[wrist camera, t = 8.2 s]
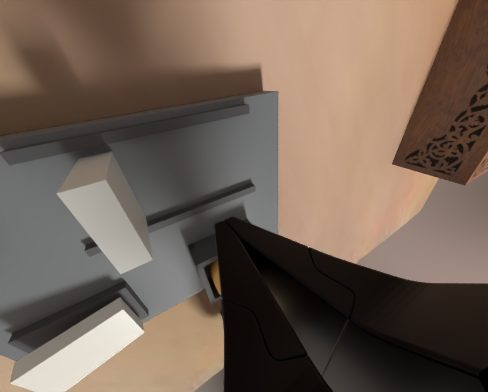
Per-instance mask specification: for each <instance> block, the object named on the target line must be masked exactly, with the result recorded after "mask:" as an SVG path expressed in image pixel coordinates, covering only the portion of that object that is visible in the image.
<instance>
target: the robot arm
mask: <svg viewBox="0 0 488 392" xmlns="http://www.w3.org/2000/svg"><path fill="white" fill-rule="evenodd" d="M214 230H215V240H216V250H217V260H218V270H219V280H220V290H221V298H222V312H221V314H222V317H223V325H224V388H223V390H224V391H223V392H488V284H475V283H474V284H473V283H469V284H467V283H463V284H462V283H461V284H460V283H424V282H417V281H411V280H406V279H403V278H399V277H396V276H392V275H389V274H386V273H383V272H380V271H376V270H373V269H370V268H367V267H364V266H360V265H357V264H354V263H351V262H348V261H345V260H342V259H339V258H336V257H333V256H331V255H328V254H325V253H323V252H320V251H318V250H315V249H313V248H310V247H309V248H308V247H307V246H305V245H303V244H300V243H298V242H295V241H293V240H290V239H288V238H285V237H283V236H280V235H278V234H275V233H273V232H270V231H268V230H265V229H263V228H261V227H258V226H256V225H253V224H251V223H248V222H246V221H243V220H241V219H238V218H236V217H233V216H232V217H229V218H227V219H225V220H224V221H220V222H217V223H215V224H214Z"/></svg>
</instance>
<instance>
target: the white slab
mask: <svg viewBox="0 0 488 392" xmlns="http://www.w3.org/2000/svg"><path fill="white" fill-rule="evenodd" d="M144 332H145V331H144V328H143V325H142V322H141V320H140V319H139V317H138V316H137V315H136V314H135V313H134V312H133V311H132V310H131V309H130V307H129V306H128V305H127V304H126V303H125V302H124V301H123V300H122V299H121V297H119V298H118V299H116V300H115V301H113V302H111V303H110V304H108V305H107V306H105V307H103V308H102V309H100V310H99V311H97V312H95V313H94V314H92V315H91V316H89V317H87V318H86V319H84V320H82V321H81V322H79V323H78V324H76V325H74V326H73V327H71V328H70V329H68V330H66V331H65V332H63V333H62V334H60V335H58V336H57V337H55V338H54V339H52V340H50V341H49V342H47V343H46V344H44V345H42V346H41V347H39V348H37V349H36V350H34V351H33V352H31V353H29V354H28V355H26V356H25V357H23V358H21V359H20V360H18V361H17V362H15V363H14V367H13V372H12V377H11V381H10V384H13V385H16V386H19V387H22V388H25V389H28V390H31V391H34V392H66V391H67V390H68V389H70V388H71V387H72V386H74V385H75V384H76V383H78V382H79V381H80V380H82V379H83V378H84V377H86V376H87V375H88V374H90V373H91V372H92V371H94V370H95V369H96V368H98V367H99V366H100V365H102V364H103V363H104V362H106V361H107V360H108V359H110V358H111V357H112V356H114V355H115V354H116V353H118V352H119V351H120V350H122V349H123V348H124V347H126V346H127V345H128V344H130V343H131V342H132V341H134V340H135V339H136V338H138V337H139V336H140V335H142V334H143V333H144Z"/></svg>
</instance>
